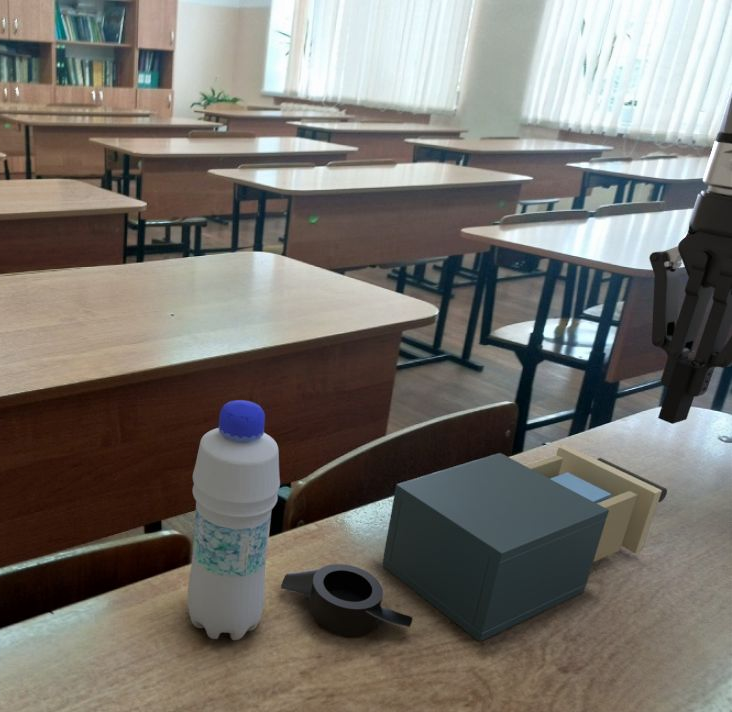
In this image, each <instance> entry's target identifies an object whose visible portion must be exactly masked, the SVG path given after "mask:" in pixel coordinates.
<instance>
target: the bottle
mask: <svg viewBox="0 0 732 712" xmlns="http://www.w3.org/2000/svg"><path fill="white" fill-rule="evenodd" d="M265 422H266V416H265V411H264V410H263V408H262V407H261V406H260V405H259V404H257V403H256V402H253V401H250V400H245V399H244V400H243V399H237V400H231V401H228V402H227V403H225V404H224V405H223V406H222V407H221V409H220V413H219V418H218V427H217V428H214V429H211V430H209V431H208V432H206V433H205V434H204V435H203V436H202V437H201V439H200V442H199V447H198V451H197V456H196V461H195V465H194V469H193V473H192V481H193V486H192V495H193V498H194V500H195V502H196V503H195V514H194V515H195V516H194V529H193V530H194V531H193V541H192V542H193V545H192V546H193V547H192V559H191V565H190V571H189V576H188V577H189V578H188V585H187V606H188V613H189V617H190V620H191V622H192V625H193V626H194V627H195V628H197V629H203V628H204V629H205V631H206V634H207V637H208V638H210V639H212V640H218V639H219V637H220V634H222V633H223V634H225V633H226V634H227V633H228V634H229V637H230V639H231V640H233V641H238V640H241V639H242V638H243V637H244V635H245V634H246V633H247V632H248V631H249V632H250V631H253V630H255V629H256V628H257V627H258V625H259V623H260V621H261V618H262V614H263V610H264V604H265V594H266V565H267V564H266V562H267V555H268V547H269V538H270V529H271V519H272V510H273V509H274V508H275V506H276V505H277V503H278V499H279V498H278V492H279V490H280V486H281V478H280V459H279V456H280V455H279V446H278V444H277V442H276V440H275V439H274V438H273V437H272V436H270V435H268V434H267V433H266V432H265V425H266V423H265Z"/></svg>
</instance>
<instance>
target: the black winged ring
mask: <svg viewBox="0 0 732 712" xmlns="http://www.w3.org/2000/svg"><path fill="white" fill-rule="evenodd" d="M281 581H282V582H281V585H280V589H281V590H285V591H290V592H292V593H293V592H294V593H297V594H300V595H302V596H305V597H307V598H309V606H308V607H309V608H308V611H309V615H310V617H311V619H312V620H313V622H314V623H315V624H317V626H318V627H320V628H321V629H323V630H324V631H326V632H327V633H330V634H332V635H335V636H338V637H342V638H348V639H349V638H350V639H354V638H355V639H357V638H362V637H366V636H368V635H370V634H372V633H373V632H374V631H375V630H376V629H377V626H378V623H379V620H380V621H383V622H386V623H389V624H392V625H396V626H401V627H405V628H410V627H411V625H412V623H413V616H411V615H407V614H404V613H401V612H399V611H395V610H393V609H391V608H387V607H384V606H382V602H383V596H384V590H383V587H382V584H381V582H380V581H379V580H378V579H377V577H376V576H374V575H373V574H372V573H371V572H368V571H367V570H365V569H362V568H360V567H359V566H354V565H351V564H343V563H334V564H328V565H325V566H322V567H321V568H316V569H309V570H304V571H303V570H301V571H295V572H294V571H293V572H287V573H285V575H284V577H283V579H282V580H281Z"/></svg>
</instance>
